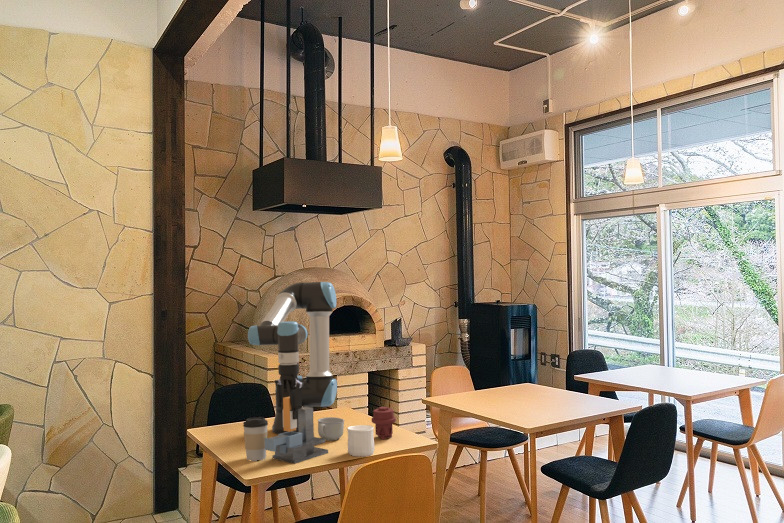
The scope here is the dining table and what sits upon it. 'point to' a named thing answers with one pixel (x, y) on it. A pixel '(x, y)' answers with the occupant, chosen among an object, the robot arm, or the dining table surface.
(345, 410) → the dining table surface
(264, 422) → the coffee cup
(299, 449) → the grey fixture stand
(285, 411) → the orange rectangular block
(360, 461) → the dining table surface
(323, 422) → the teacup
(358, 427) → the cup
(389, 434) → the mechanical component
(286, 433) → the bracket
